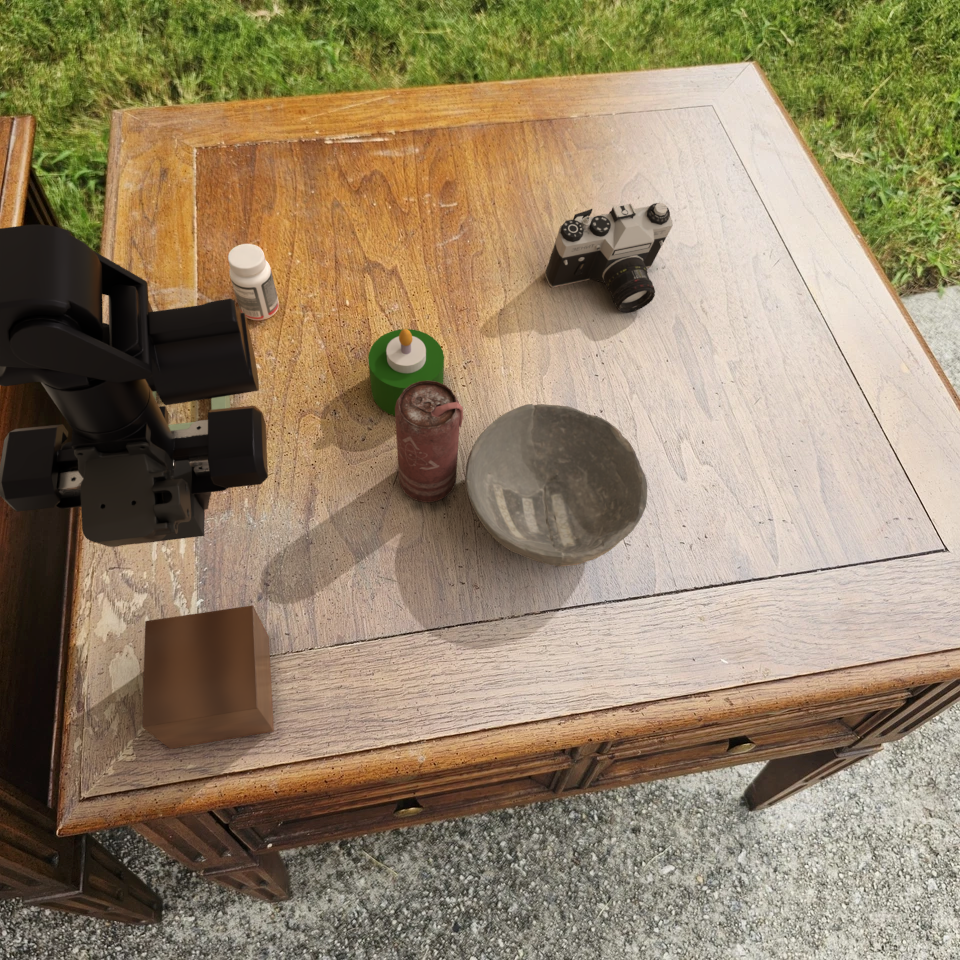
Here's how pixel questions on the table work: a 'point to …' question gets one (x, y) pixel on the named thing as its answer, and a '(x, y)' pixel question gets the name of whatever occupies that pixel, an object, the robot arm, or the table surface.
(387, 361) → the candle
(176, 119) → the table surface
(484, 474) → the bowl
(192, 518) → the black block
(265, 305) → the pill bottle
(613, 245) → the camera
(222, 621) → the block
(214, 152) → the table surface
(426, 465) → the can
